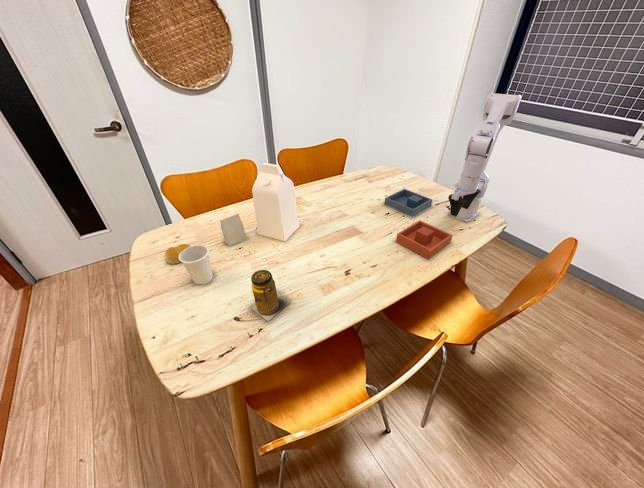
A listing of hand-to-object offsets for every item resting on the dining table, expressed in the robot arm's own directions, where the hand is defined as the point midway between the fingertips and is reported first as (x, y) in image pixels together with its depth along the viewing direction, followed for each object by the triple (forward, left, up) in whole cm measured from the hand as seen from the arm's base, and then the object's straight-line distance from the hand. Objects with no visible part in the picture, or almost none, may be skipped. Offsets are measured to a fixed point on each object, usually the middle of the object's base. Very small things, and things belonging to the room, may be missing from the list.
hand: (459, 211), depth 98 cm
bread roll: (+82, -55, -10) cm, 99 cm away
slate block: (-5, -21, -9) cm, 23 cm away
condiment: (+70, -15, -10) cm, 72 cm away
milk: (+47, -46, -10) cm, 66 cm away
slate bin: (-5, -24, -9) cm, 26 cm away
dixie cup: (+80, -39, -10) cm, 90 cm away
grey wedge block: (+63, -51, -10) cm, 82 cm away
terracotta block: (+13, -4, -9) cm, 16 cm away
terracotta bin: (+13, -4, -9) cm, 17 cm away
